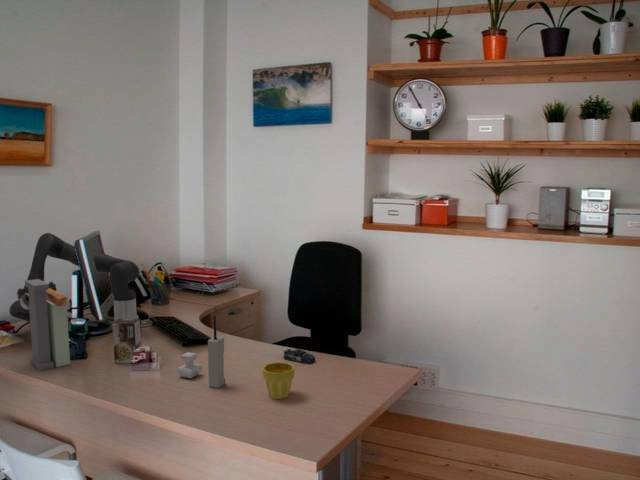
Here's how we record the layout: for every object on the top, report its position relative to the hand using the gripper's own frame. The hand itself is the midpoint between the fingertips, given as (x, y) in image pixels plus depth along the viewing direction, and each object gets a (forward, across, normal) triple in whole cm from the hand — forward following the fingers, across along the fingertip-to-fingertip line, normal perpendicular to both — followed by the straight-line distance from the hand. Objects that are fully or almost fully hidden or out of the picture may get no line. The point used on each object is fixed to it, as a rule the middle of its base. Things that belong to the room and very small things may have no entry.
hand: (40, 285), depth 246 cm
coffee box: (+15, +21, +40) cm, 48 cm away
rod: (+10, 0, +10) cm, 14 cm away
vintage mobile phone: (+53, +34, +62) cm, 89 cm away
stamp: (+41, +31, +56) cm, 76 cm away
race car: (+52, +72, +62) cm, 108 cm away
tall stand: (0, -6, +32) cm, 32 cm away
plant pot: (+71, +45, +73) cm, 111 cm away
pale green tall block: (0, 0, +32) cm, 32 cm away
